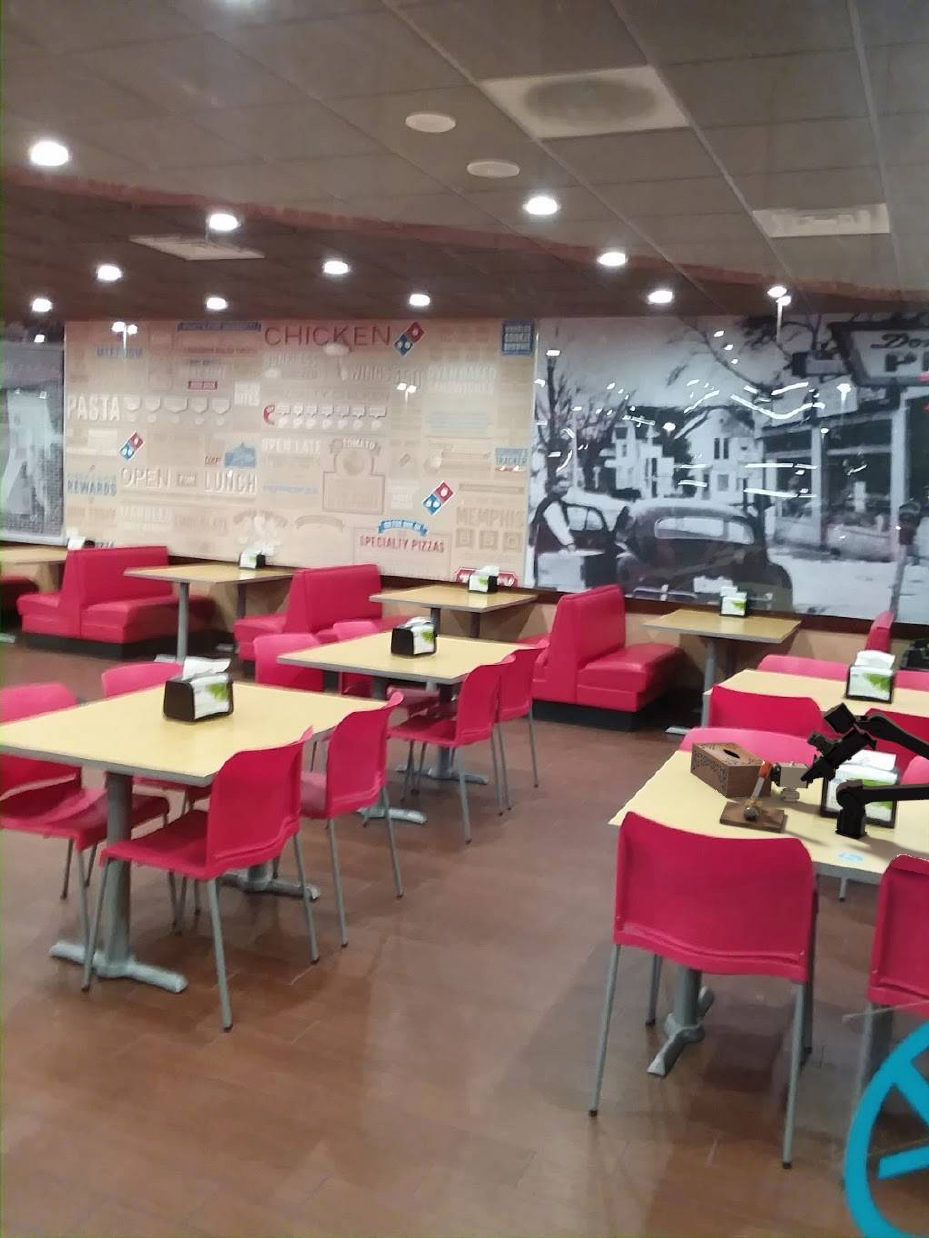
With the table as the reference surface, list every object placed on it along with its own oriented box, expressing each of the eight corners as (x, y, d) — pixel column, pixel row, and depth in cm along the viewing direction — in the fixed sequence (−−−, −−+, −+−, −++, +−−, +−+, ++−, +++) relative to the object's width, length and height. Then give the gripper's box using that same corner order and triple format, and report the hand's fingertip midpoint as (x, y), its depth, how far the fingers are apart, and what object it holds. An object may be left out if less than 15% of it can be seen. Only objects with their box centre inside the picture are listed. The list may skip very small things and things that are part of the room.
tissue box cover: (690, 773, 330) (692, 742, 329) (731, 772, 333) (734, 742, 331) (726, 798, 305) (728, 766, 304) (770, 797, 308) (773, 765, 307)
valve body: (762, 810, 292) (764, 791, 291) (758, 823, 281) (760, 803, 280) (746, 808, 294) (748, 788, 293) (742, 821, 283) (743, 800, 282)
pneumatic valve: (811, 804, 302) (815, 764, 300) (771, 801, 303) (774, 762, 301) (806, 798, 308) (810, 759, 306) (766, 796, 308) (770, 757, 307)
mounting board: (784, 813, 292) (784, 809, 292) (779, 832, 277) (780, 828, 277) (726, 805, 298) (727, 801, 298) (719, 822, 282) (719, 818, 282)
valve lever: (757, 801, 288) (772, 762, 285) (756, 804, 285) (772, 765, 282) (748, 798, 288) (763, 759, 286) (747, 800, 286) (763, 761, 283)
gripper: (828, 715, 285) (783, 748, 291) (826, 730, 268) (778, 765, 274) (855, 746, 284) (810, 779, 289) (855, 763, 267) (807, 798, 272)
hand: (801, 779), depth 281 cm, fingers closed
